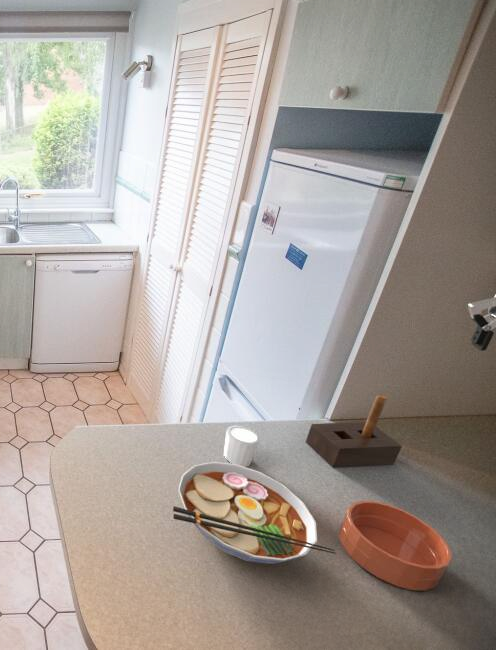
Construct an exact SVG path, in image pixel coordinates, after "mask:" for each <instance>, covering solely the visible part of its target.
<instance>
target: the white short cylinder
mask: <svg viewBox="0 0 496 650" xmlns="http://www.w3.org/2000/svg"><path fill="white" fill-rule="evenodd" d="M260 443H261V437H260V435H259V433H257V432H256V431H254V430H253V429H251V428H249V427H246V426H243V425H234V424H233V425H230V426H228V427H227V428H226V432H225V440H224V447H223V457H224V456H225V458H226V459H227V460H228V461H229V462H230V463H232V464H237V465H240V466H243V467H246V468H247V467H249V466H250V465H251V463H252V460H253V459H254V457H255V454H256V452H257V449H258V447H259V445H260ZM225 458H224V459H225ZM226 459H225V460H226ZM227 460H226V461H227ZM228 461H227V462H228ZM229 462H228V463H229ZM249 464H250V465H249Z"/></svg>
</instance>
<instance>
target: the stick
mask: <svg viewBox="0 0 496 650" xmlns="http://www.w3.org/2000/svg"><path fill="white" fill-rule="evenodd" d="M387 400H388V397H387V396H386V395H384V394H381V393H378V394H376V396H375V398H374V401H373V404H372V406H371V408H370V411H369V413H368V416H367V419H366V421H365V422H366V424H365V426H364V429H363V431H362V435H363V436H364V437H366V438H371V436H372V434H373V432H374V429H375V427H377V424H378V422H379V419H380V417H381V414H382V413H383V410H384V407H385V405H386V402H387Z"/></svg>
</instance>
